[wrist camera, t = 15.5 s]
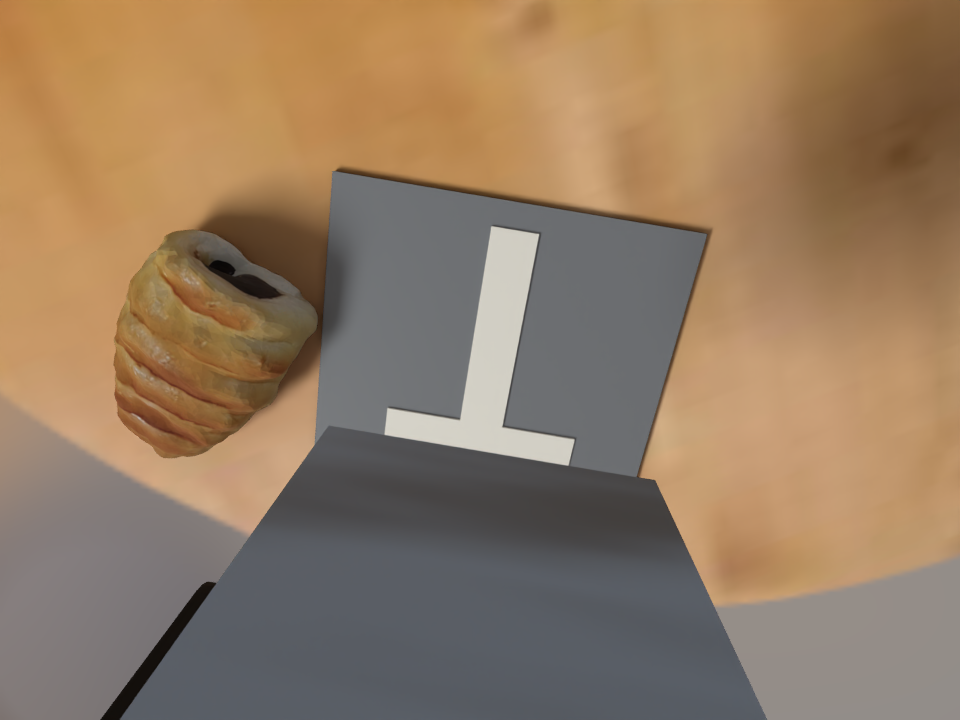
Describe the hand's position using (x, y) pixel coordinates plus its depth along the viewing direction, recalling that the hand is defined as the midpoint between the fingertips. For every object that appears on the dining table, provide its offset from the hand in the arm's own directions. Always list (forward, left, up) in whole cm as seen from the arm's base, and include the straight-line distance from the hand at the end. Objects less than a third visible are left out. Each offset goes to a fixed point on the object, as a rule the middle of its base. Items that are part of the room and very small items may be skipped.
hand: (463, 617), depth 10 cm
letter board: (0, 0, -13) cm, 13 cm away
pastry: (+1, -11, -14) cm, 18 cm away
